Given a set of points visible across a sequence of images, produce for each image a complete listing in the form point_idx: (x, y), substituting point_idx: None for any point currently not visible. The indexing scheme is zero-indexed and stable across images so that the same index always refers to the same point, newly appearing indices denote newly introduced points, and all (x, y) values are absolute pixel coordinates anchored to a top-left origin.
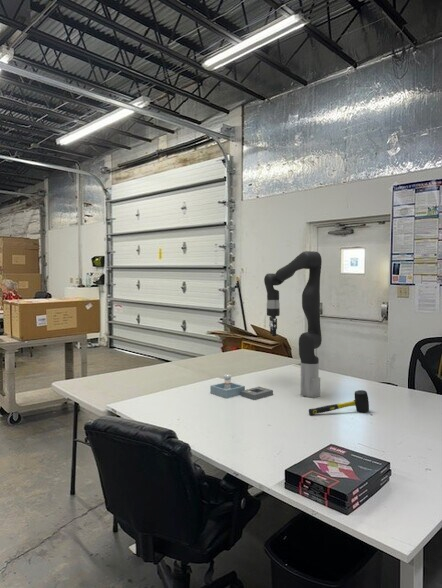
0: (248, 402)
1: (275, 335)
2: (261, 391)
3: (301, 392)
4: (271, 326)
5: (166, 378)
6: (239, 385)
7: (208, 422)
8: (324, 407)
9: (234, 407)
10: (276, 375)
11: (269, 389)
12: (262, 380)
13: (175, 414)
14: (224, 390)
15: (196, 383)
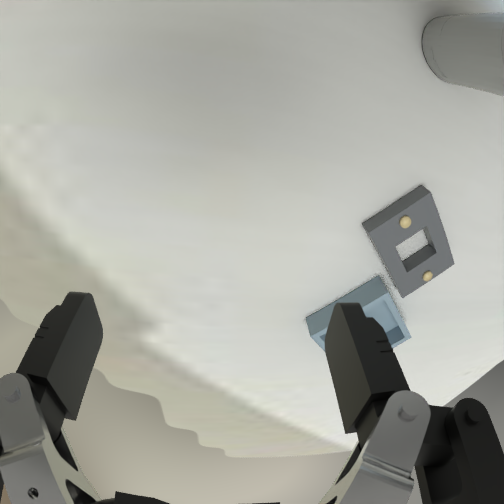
0: (456, 271)
1: (357, 314)
2: (431, 236)
3: (460, 85)
4: (327, 494)
5: (172, 423)
6: (372, 306)
7: (501, 336)
8: None
9: (469, 303)
10: (75, 102)
11: (419, 202)
12: (178, 181)
13: (446, 381)
14: (402, 340)
15: (225, 384)
